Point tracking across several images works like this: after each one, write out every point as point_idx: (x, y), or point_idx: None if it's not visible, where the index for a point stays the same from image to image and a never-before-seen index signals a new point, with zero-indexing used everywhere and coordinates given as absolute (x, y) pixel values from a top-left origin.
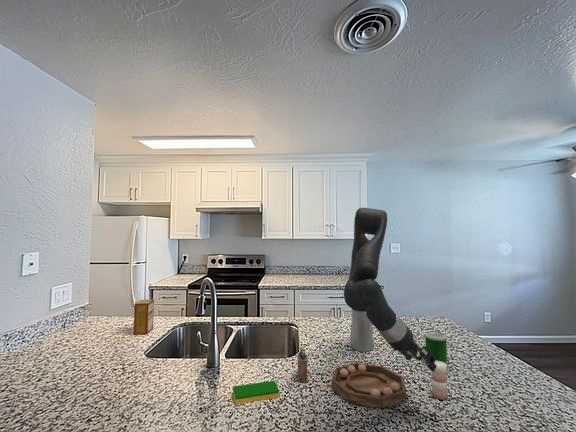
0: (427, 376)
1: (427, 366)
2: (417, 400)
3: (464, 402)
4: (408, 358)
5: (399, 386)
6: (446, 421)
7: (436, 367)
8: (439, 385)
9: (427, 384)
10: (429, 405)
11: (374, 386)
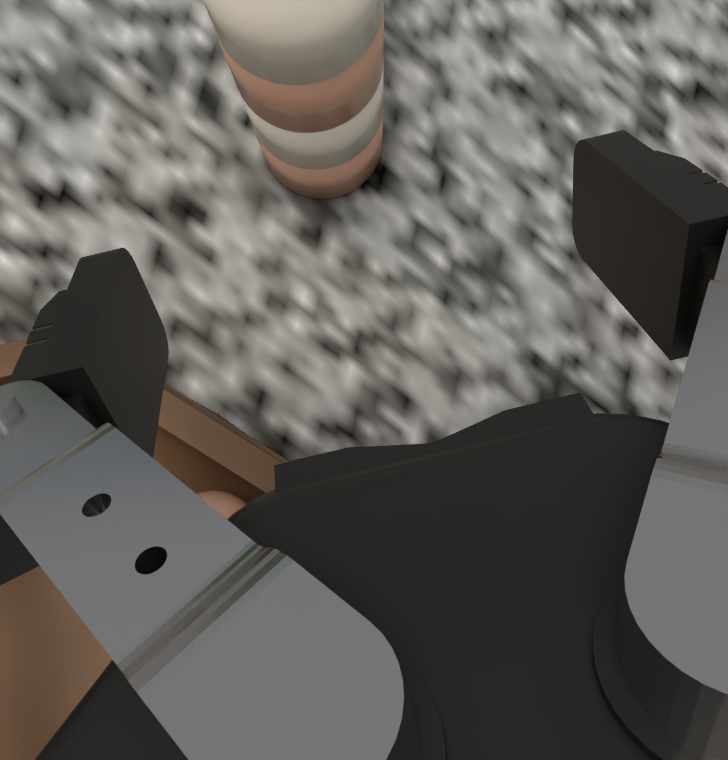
0: (4, 15)
1: (641, 315)
2: (340, 375)
3: (456, 20)
4: (158, 363)
5: (227, 499)
6: (652, 348)
7: (336, 22)
8: (365, 120)
9: (130, 113)
10: (430, 326)
11: (63, 668)
